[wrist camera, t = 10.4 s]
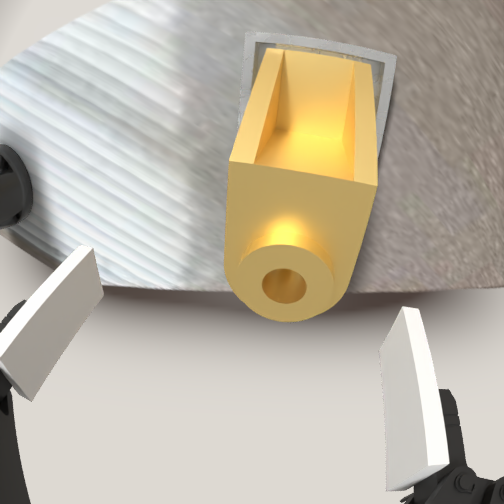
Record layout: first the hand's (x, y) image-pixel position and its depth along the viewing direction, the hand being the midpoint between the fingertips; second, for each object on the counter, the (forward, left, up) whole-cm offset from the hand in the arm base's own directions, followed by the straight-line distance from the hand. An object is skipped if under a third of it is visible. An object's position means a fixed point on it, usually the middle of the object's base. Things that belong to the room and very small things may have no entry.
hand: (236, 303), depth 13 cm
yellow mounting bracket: (+2, 0, -24) cm, 24 cm away
